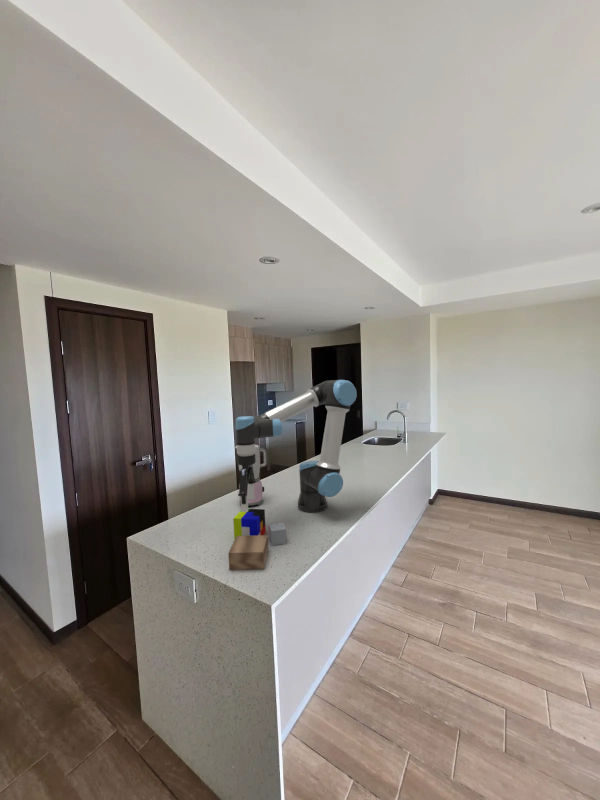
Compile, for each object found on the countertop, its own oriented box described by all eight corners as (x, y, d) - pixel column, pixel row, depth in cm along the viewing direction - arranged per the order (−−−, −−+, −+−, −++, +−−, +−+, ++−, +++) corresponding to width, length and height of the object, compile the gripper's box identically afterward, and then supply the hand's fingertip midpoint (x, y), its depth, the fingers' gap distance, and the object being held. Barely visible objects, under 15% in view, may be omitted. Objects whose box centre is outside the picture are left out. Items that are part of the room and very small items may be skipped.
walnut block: (268, 550, 122) (267, 535, 122) (263, 569, 110) (263, 552, 110) (237, 551, 122) (236, 535, 122) (229, 569, 110) (228, 552, 110)
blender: (240, 509, 163) (236, 447, 161) (238, 500, 174) (235, 442, 172) (270, 505, 166) (267, 444, 164) (267, 497, 178) (264, 440, 176)
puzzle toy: (258, 543, 127) (256, 519, 127) (234, 542, 129) (233, 518, 129) (265, 532, 137) (264, 509, 137) (243, 530, 139) (242, 508, 139)
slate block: (284, 536, 132) (283, 522, 132) (286, 543, 127) (286, 529, 126) (269, 538, 131) (269, 524, 131) (271, 546, 125) (271, 531, 125)
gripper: (243, 448, 144) (245, 494, 145) (229, 461, 119) (231, 517, 120) (260, 447, 143) (261, 493, 145) (249, 461, 118) (251, 517, 120)
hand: (248, 504), depth 132 cm, fingers open, 13 cm apart
